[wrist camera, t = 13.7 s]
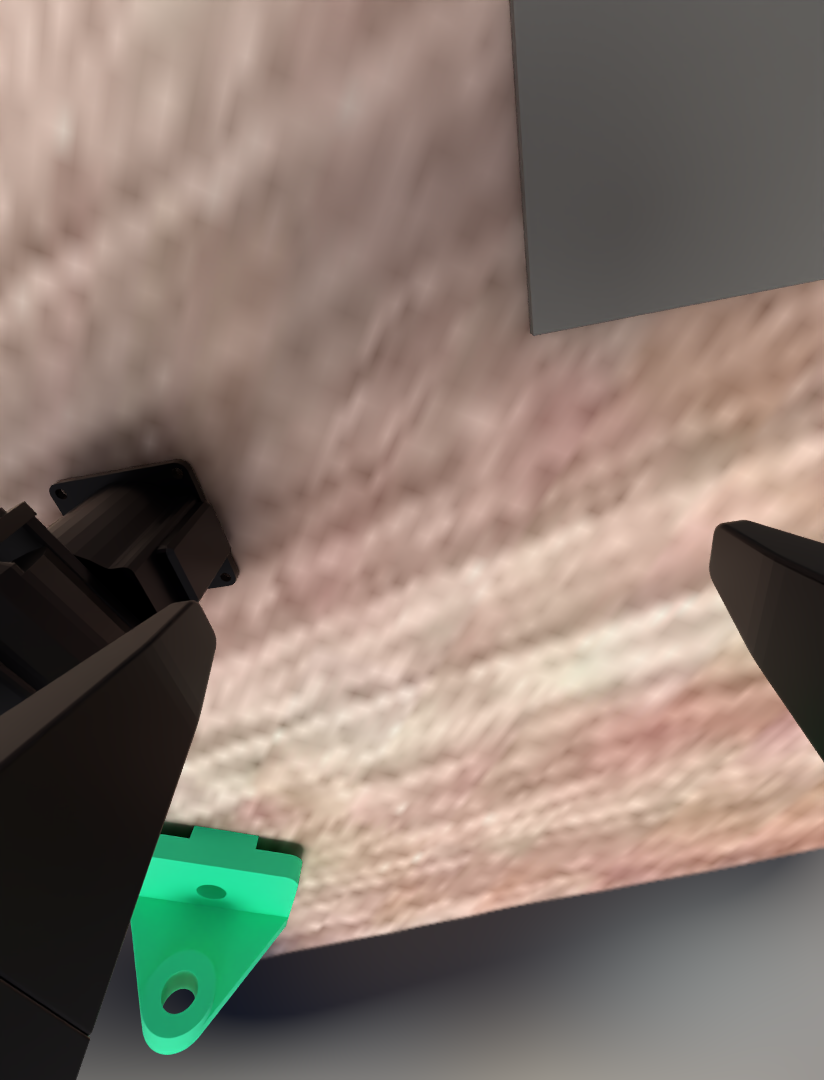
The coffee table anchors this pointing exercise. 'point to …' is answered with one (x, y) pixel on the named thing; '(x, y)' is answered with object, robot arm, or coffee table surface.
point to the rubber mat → (667, 152)
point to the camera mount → (205, 926)
